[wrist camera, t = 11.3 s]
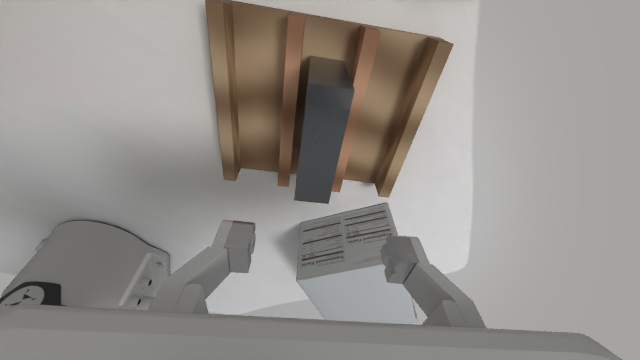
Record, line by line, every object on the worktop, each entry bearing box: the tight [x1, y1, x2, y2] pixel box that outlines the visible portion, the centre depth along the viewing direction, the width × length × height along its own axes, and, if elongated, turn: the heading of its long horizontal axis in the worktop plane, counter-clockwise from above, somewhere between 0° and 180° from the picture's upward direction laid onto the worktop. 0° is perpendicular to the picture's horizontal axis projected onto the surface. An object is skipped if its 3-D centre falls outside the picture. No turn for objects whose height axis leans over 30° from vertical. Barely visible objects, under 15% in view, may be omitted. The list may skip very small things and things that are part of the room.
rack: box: [205, 0, 453, 197], centre depth 25 cm, size 16×19×4 cm
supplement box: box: [296, 203, 418, 324], centre depth 37 cm, size 17×13×9 cm
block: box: [294, 55, 355, 204], centre depth 22 cm, size 10×3×8 cm, turn 171°
